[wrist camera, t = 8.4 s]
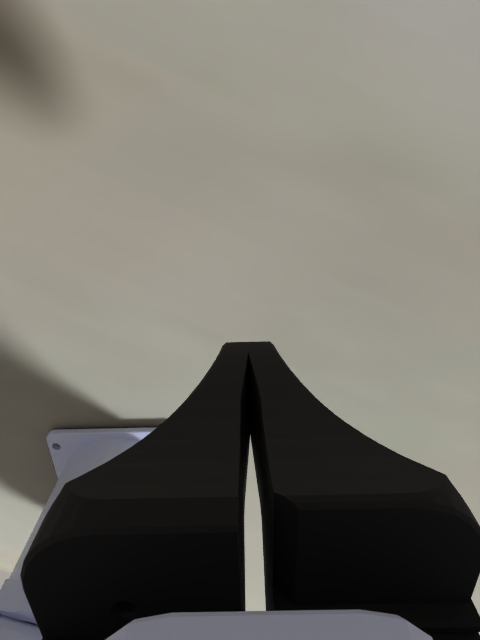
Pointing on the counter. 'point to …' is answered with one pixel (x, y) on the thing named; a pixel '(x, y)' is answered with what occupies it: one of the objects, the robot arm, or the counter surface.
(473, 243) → the counter surface
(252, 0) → the counter surface
